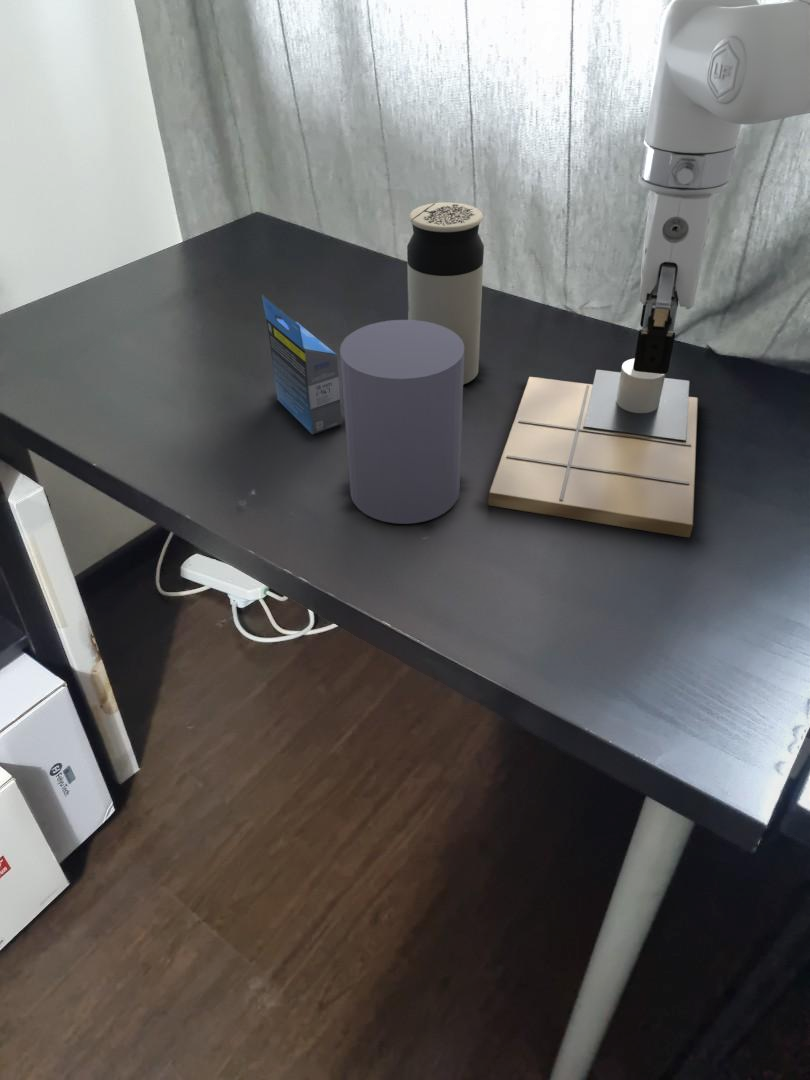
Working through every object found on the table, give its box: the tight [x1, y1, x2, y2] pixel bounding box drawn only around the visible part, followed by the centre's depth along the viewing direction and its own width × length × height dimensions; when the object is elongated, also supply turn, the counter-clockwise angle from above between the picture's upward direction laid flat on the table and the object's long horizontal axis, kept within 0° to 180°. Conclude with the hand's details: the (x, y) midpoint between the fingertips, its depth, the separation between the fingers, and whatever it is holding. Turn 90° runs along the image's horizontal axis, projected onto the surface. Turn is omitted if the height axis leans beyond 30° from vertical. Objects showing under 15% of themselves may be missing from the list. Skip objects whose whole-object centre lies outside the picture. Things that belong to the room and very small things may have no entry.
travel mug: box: [406, 201, 485, 385], centre depth 89 cm, size 8×8×18 cm
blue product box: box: [261, 294, 343, 435], centre depth 85 cm, size 9×4×12 cm, turn 32°
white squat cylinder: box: [616, 357, 666, 413], centre depth 85 cm, size 4×4×4 cm
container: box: [339, 319, 464, 525], centre depth 73 cm, size 10×10×15 cm
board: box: [487, 369, 699, 538], centre depth 83 cm, size 18×25×2 cm
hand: (653, 348), depth 82 cm, fingers open, 9 cm apart
